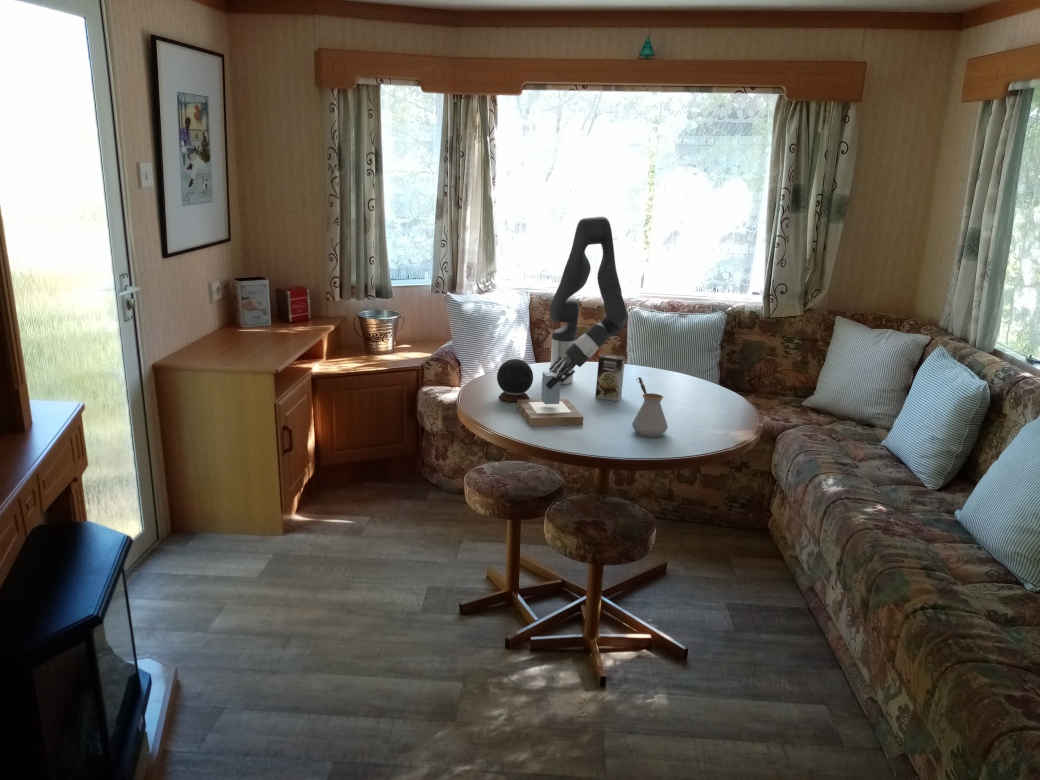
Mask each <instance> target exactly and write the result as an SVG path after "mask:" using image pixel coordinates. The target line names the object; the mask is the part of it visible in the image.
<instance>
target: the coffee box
mask: <svg viewBox="0 0 1040 780" xmlns="http://www.w3.org/2000/svg"><path fill="white" fill-rule="evenodd" d="M597 363H598V364H597V374H596V376H597V377H596V386H595V396H594V397H595V398H594V399H597V400H604V401H605V400H606V401H613V402H619V401H620V400H621V399H622V392H623V383H624V373H625V372H624V371H625V364H626V356H624V355H623V356H622V355H616V354H607V353H601V354H600V355H599V357H598V362H597Z"/></svg>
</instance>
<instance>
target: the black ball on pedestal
mask: <svg viewBox="0 0 1040 780" xmlns="http://www.w3.org/2000/svg"><path fill="white" fill-rule="evenodd" d="M496 381H497V384H498V387H499V388H500V389H501V390H502V391H503V392H500V394H499V396H498V400H499V399H500V400H501V401H500V400H499V401H500V402H502V401H503V402H502V403H504V402H508V403H507V404H509V403H518V400H527V399H530V397H529V395H528V394H527V393H526V392H527V391H528V390H529V389H530V388H531V387H532V385H533V381H534V373H533V370H532V368H531V366H530V365H529V364H528V363H527V362H526V361H525V360H522V359H518V358H513V359H509V360H506V361H505V362H503V363H501V365H500V366H499V368H498V370H497V373H496Z"/></svg>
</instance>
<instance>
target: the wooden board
mask: <svg viewBox="0 0 1040 780" xmlns="http://www.w3.org/2000/svg"><path fill="white" fill-rule="evenodd" d="M516 405H517V407H518V408H517V409H519V410H520V411H519V410H518V411H519V412H520V414H521V413H522V414H521V416H522V417H523V416H524V417H523V418H524V420H525V419H526V420H525V421H526V422H527V424H528V426H529V427H530V426H539V427H564V426H563V425H571V426H583V425H584V415H582V413H581V412H580V411H579V410H578V409H577V408H576V407H575V405H574V404H572V402H570V400H569V399H568V398H559V404H544V403H543V401H542V400H541V398H538V399H537V398H536V399H532V398H531V399H530V398H529V399H527V400H518V404H516Z"/></svg>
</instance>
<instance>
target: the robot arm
mask: <svg viewBox="0 0 1040 780" xmlns="http://www.w3.org/2000/svg"><path fill="white" fill-rule="evenodd" d="M613 240H614V238H613V231H612V227H611V223H610V221H609V219H608V218H607V217H605V216H591V217H589V216H588V217H583V218H581V219H579V221H578V223H577V225H576V228H575V233H574V237H573V242H572V245H571V249H570V250H571V251H570V253H569V255H568V259H567V261H566V263H565V266H564V269H563V272H562V275H561V278H560V282H559V284H558V288H557V289H556V292H555V293H554V295H553V297H552V299H551V302H550V305H549V312H548V313H549V315H548V316H549V318H550V320H551V321H552V322H555V323H565V324H564V325H563V326H561V327H560V328H557V329H554V331H552V335H551V351H550V364H549V365H550V367H549V371H548V372H557V374H556V375H555V376H554V377H553V378H552V379H551V380H550V381H549V382H548V383H547V384H546V386H547V387H548V388H549V389H551V388H552V387H553V386H555V385H556V384H557V383H558V382H560V381H561V382H560V385H568V384H571V383H573V381H574V373H575V372H576V370H574V368H575V367H576V366H577V367H578V368H581V367H582V366H583V365H584V364H586V362H587V361H588V360H590V359H591V358H592V357H593V355H594V354H596V352H597V351H598V350H599V349H600V348H601V347H602V346H603V345H604V344H605V343H606V342H607V341H608V340H609V339H610V338H611V337H613V336H614V335H616V334H617V333H619V332H620V331H621V330H622V329H623V328H624V327H625V326H626V325H627V323H628V321H629V314H628V309H627V307H626V305H625V301H624V298H623V297H624V296H623V295H622V294H623V292H622V287H621V283H620V280H619V276H618V271H617V266H616V258H615V248H614V241H613ZM590 245H601V249H602V256H601V261H600V265H599V268H598V270H597V278H596V279H597V285H598V288H599V292H600V296H601V298H602V301H603V306H604V311H605V317H604V318H603V319H602V320H601V321H599V322H597V323H594V324H593V325H592V326H591V327H589V329H587V331H585V332H584V333H583V334H581V336H579V337H578V338H577V332H578V322H579V315H580V313H579V312H580V304H579V300H577V299H576V298H571V297H573V295H575V294H577V292H579V291H580V290H581V289H582V288H583V287H584V286H585V285H586V283H587V282H588V279H589V277H590V276H589V275H590V274H591V270H592V269H591V268H592V267H591V263H590V260H589V258H588V257H587V255H586V249H587V247H588V246H590Z"/></svg>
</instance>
